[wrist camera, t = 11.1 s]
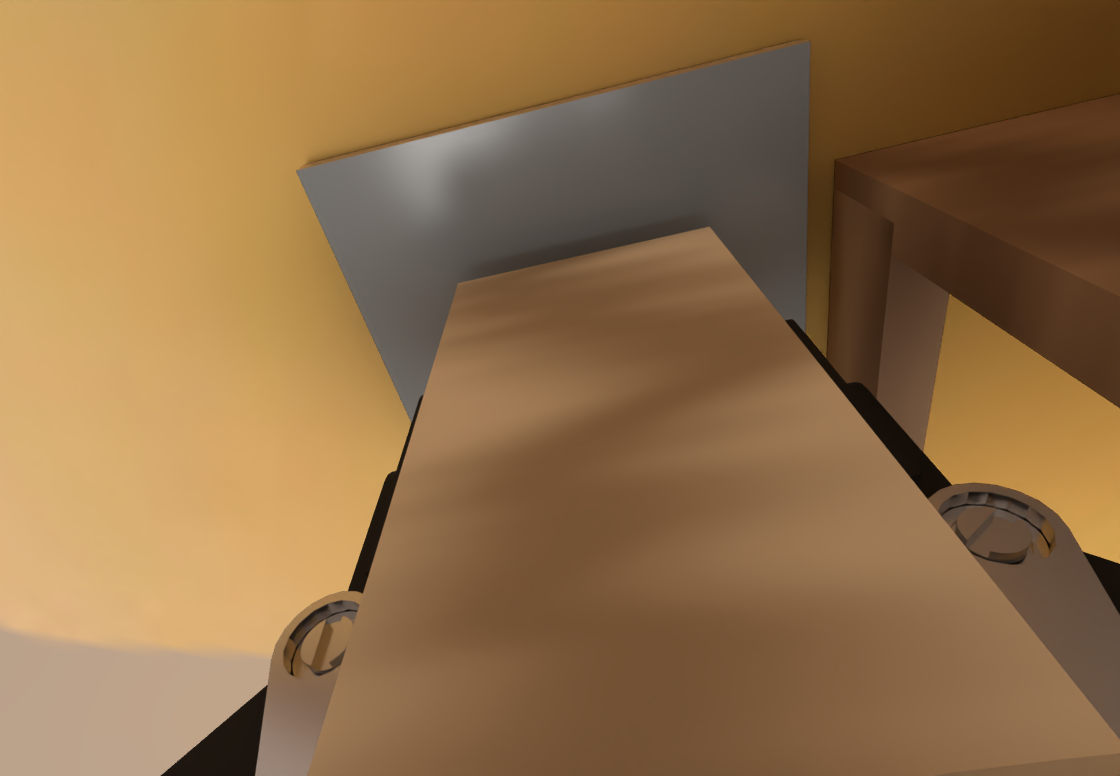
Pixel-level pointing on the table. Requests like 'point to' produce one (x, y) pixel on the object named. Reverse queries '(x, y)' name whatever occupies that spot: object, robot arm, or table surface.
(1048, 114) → the wooden arch bench
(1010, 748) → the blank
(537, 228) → the coaster
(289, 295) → the table surface
